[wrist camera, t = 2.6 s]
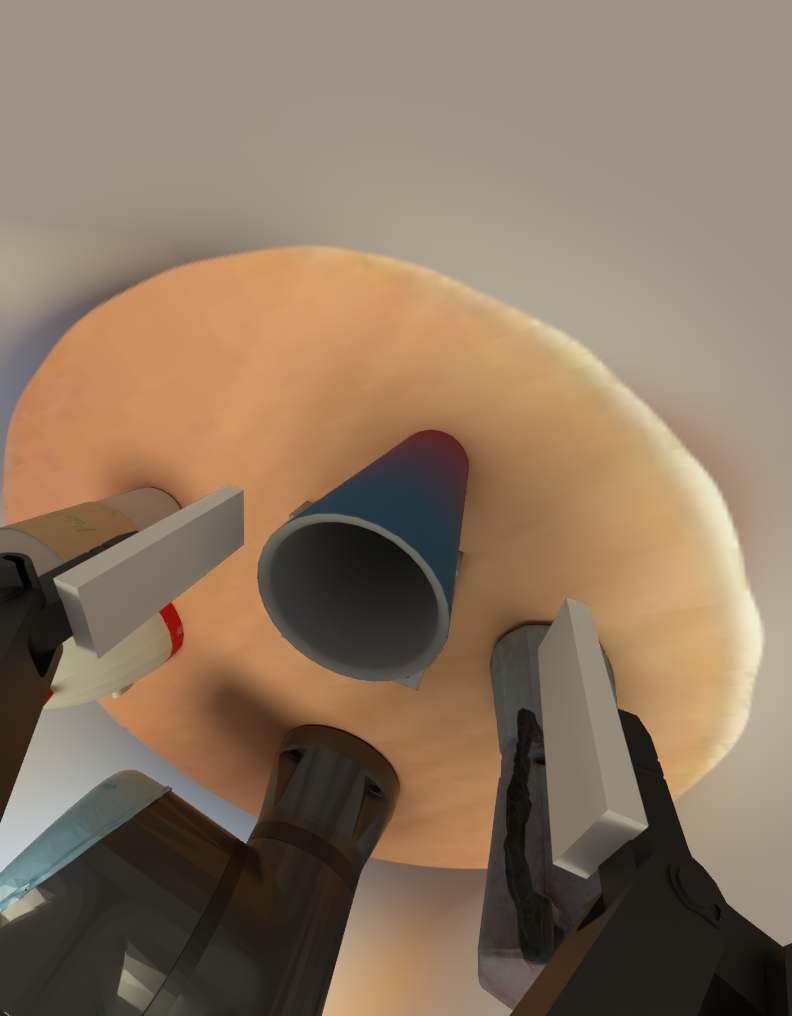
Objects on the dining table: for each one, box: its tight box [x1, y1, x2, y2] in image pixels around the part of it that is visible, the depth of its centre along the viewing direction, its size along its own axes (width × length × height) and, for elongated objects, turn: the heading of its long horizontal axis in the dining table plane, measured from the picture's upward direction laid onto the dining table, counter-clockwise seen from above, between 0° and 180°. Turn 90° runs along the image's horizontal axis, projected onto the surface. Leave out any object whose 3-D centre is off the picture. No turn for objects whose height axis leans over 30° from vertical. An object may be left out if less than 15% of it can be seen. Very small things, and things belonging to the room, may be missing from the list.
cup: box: [257, 430, 469, 681], centre depth 19 cm, size 7×7×15 cm
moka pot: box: [478, 625, 618, 1010], centre depth 21 cm, size 10×15×20 cm, turn 32°
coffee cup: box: [0, 487, 181, 577], centre depth 28 cm, size 9×9×15 cm
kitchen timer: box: [42, 602, 184, 709], centre depth 36 cm, size 14×14×15 cm
